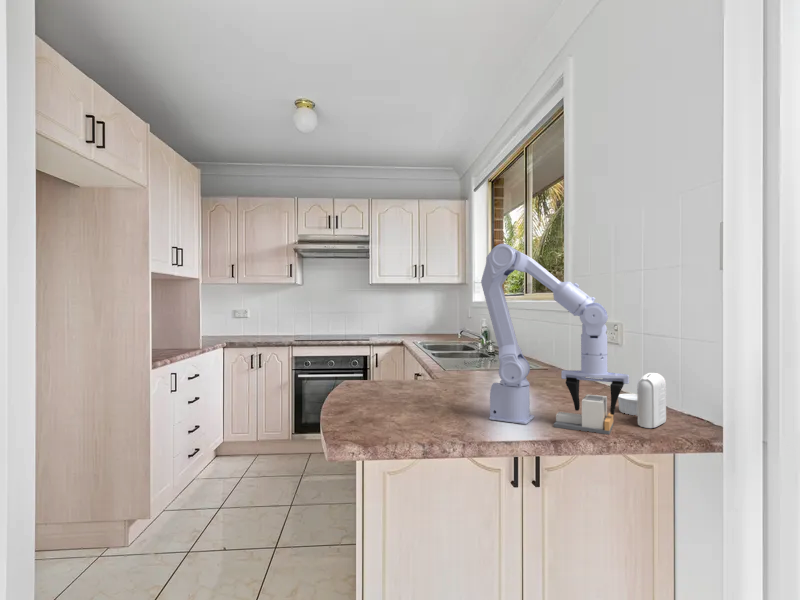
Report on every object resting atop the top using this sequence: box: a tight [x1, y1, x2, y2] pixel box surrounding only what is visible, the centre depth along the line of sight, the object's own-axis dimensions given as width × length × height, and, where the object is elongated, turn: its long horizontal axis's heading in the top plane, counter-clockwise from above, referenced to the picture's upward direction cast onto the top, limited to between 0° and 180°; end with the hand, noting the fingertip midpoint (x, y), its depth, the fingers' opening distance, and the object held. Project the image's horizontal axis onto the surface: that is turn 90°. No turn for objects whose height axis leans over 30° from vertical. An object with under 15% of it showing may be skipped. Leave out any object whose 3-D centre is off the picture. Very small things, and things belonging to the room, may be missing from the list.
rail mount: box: [553, 411, 614, 435], centre depth 106 cm, size 12×9×3 cm
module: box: [581, 393, 608, 429], centre depth 105 cm, size 4×8×6 cm, turn 149°
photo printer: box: [636, 372, 667, 429], centre depth 108 cm, size 10×4×12 cm, turn 134°
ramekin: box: [617, 393, 638, 417], centre depth 119 cm, size 9×9×4 cm
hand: (594, 411), depth 105 cm, fingers open, 7 cm apart
